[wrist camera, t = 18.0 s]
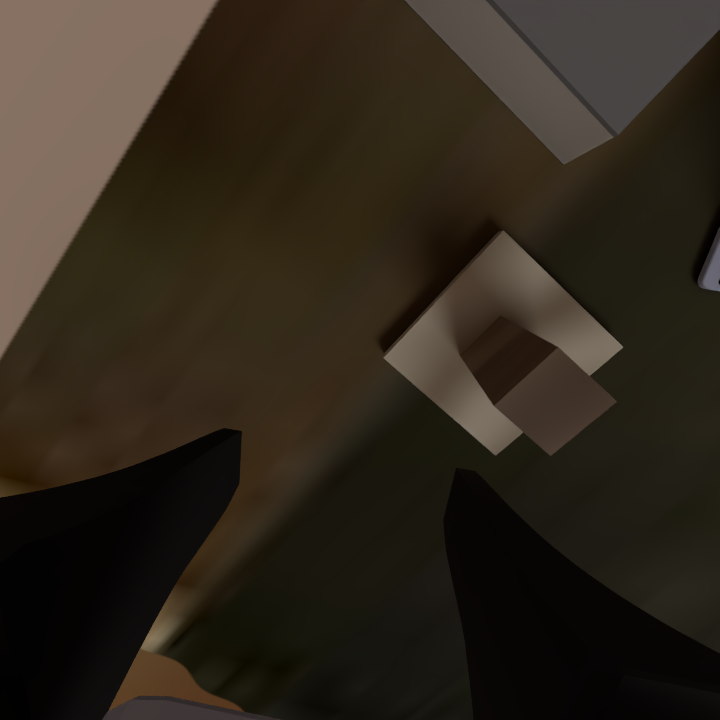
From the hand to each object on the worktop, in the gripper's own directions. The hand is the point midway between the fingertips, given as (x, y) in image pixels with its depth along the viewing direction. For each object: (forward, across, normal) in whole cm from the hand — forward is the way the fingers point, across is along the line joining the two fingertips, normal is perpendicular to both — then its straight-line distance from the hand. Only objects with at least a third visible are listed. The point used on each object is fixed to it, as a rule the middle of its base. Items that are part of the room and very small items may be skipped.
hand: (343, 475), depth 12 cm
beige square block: (+10, -7, -3) cm, 13 cm away
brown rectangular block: (+9, -7, -3) cm, 12 cm away
